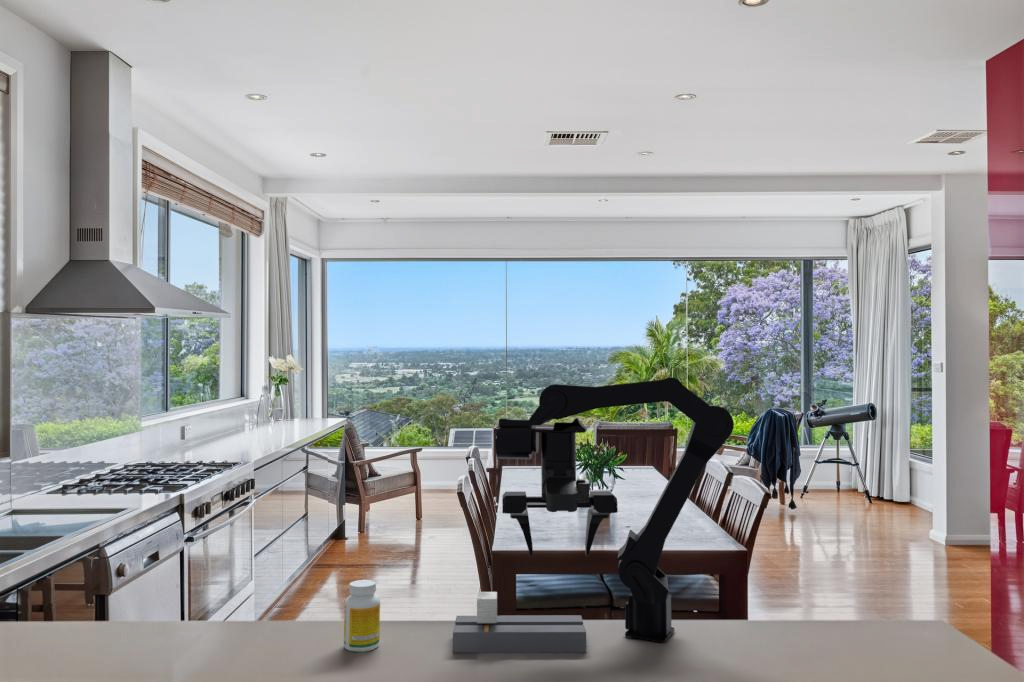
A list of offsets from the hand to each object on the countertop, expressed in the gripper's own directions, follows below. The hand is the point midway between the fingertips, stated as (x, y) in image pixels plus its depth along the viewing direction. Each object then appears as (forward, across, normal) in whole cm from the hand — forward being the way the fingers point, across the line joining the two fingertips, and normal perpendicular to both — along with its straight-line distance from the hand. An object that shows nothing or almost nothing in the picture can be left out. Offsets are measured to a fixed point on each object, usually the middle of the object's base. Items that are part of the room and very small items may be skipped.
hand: (559, 555), depth 123 cm
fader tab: (+10, -12, -6) cm, 17 cm away
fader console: (+12, -7, -7) cm, 15 cm away
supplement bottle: (+12, -31, -8) cm, 34 cm away
